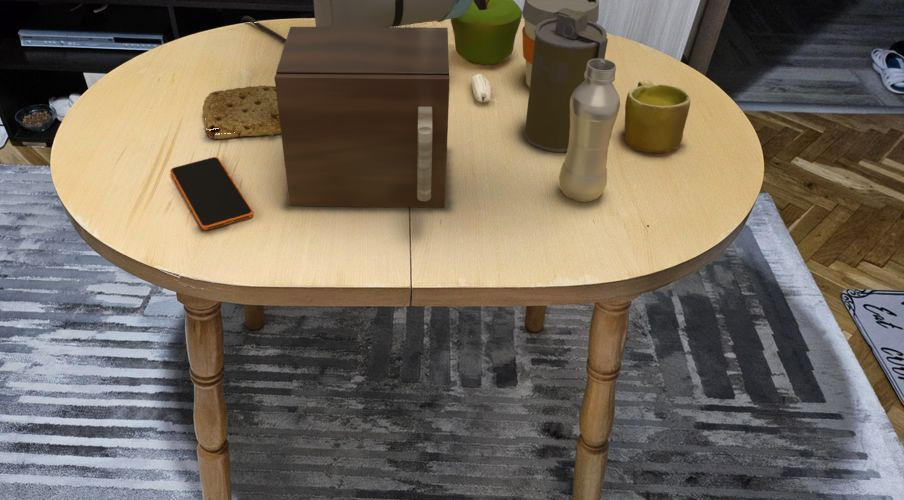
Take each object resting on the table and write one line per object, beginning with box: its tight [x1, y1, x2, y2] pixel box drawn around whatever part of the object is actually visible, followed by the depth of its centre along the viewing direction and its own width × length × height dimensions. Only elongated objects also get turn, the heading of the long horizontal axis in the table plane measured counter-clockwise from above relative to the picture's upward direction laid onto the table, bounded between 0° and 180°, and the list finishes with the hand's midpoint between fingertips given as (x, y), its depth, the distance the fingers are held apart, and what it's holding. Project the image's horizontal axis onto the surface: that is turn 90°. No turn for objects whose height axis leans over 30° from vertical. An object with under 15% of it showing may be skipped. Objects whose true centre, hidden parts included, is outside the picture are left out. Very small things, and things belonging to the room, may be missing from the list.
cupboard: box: [275, 26, 450, 76], centre depth 114 cm, size 14×22×20 cm, turn 89°
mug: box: [624, 79, 691, 154], centre depth 126 cm, size 12×10×10 cm
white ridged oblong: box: [471, 73, 492, 103], centre depth 138 cm, size 3×8×3 cm, turn 4°
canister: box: [523, 8, 609, 153], centre depth 122 cm, size 11×10×20 cm
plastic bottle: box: [558, 58, 621, 202], centre depth 110 cm, size 6×7×20 cm
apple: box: [450, 0, 523, 67], centre depth 147 cm, size 12×12×11 cm
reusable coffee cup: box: [521, 0, 600, 88], centre depth 138 cm, size 13×13×15 cm
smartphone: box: [169, 156, 254, 231], centre depth 116 cm, size 8×17×1 cm, turn 28°
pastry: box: [202, 85, 281, 140], centre depth 133 cm, size 17×17×3 cm
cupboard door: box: [274, 73, 451, 208], centre depth 105 cm, size 8×22×20 cm, turn 89°
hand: (534, 2), depth 97 cm, fingers open, 13 cm apart
